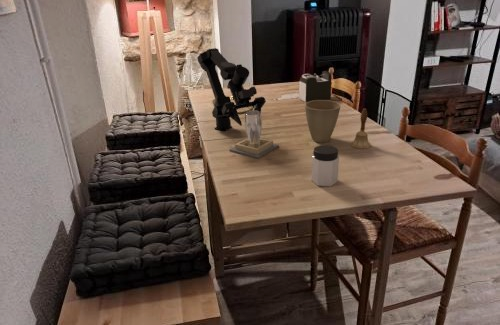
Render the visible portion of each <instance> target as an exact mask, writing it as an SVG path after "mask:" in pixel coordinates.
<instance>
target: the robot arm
mask: <svg viewBox="0 0 500 325" xmlns="http://www.w3.org/2000/svg"><path fill="white" fill-rule="evenodd" d="M197 62H198V64H199V66H200V69H202V70H203V71H205V73H206V75H207V79H208V80H209V84H210V87H211V90H212V93H213V96H214V99H215V103H214V104H213V107H214V108H213V109H212V112H211V114H212V118H214V119H215V125H216V127H214V129H213V130H217V131H221V132H225V131H228V130H231V129H233V126H232V124H231V119H232V120H233V121H234V122H236V123H237V124H238V125H239V126H241V127H242V125H243V123H242V121H241V117H240V116H239V114H238V113H237V112H238V110H239V109H243V108H244V109H245V108H248V107H250V106H252V108H253V110H257V111H260V112H261V113H262V108H263V106H264V105H265V104H266V103H267V101H266V98H265V97H264V96H259V97H258V96H257V97H255V98H254V100H253V101H251V100H252V97H254V96H255V95H257V93H258V91H257V88H256V87H255V86H251V87H249V89H247V88H244V84H245V83H246V82H247V80H248V78H249V76H250V70H249V69H248V68H246V67H245V66H243V65H242V64H240V63H239V64H235V63H233V62H229V61H228V60H227V59H226V58H225V57H224V56H223V55H222V54H221V52H220V50H219V48H217V47H214V48H208V49H206V50H205V51H203V52H201V53H199V55H198V56H197ZM216 67H217V68H218V69H219V71H220V73H219V74H220V77H221V78H222V79H223V81H228V83H227V89H228V90H230V94H231V96H233V97H232V99H230V97H229V95H226V94H225V92H224V89H223V86H222V83H221V80H220V78H219V75H218V72H217V68H216ZM226 96H227V97H226ZM232 100H233V101H232Z"/></svg>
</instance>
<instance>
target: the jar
mask: <svg viewBox="0 0 500 325" xmlns="http://www.w3.org/2000/svg"><path fill="white" fill-rule="evenodd" d="M312 154H313V155H312V156H311V175H310V176H311V178H310V179H311V182H313V183H314V184H315V185H316V186H318V187H332V186H334V185H335V184H337V183H338V179H339V178H338V177H339V163H340V157H339V148H337V147H335V146H333V145H330V144H329V145H328V144H323V145H322V144H321V145H317V146H315V147H313V153H312Z"/></svg>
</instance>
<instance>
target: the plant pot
mask: <svg viewBox="0 0 500 325" xmlns="http://www.w3.org/2000/svg"><path fill="white" fill-rule="evenodd" d="M304 107H305V108H304V109H305V117H306V123H307V127H308V130H309V134H310V136H311V140H312V141H313V142H316V143H320V144H321V143H328V142H329V141H330V140H331V137H332V136H333V133H334V131H335V128H336V125H337V122H338V119H339V115H340V111H341V107H342V106H341V103H340V102H337V101H334V100H330V99H327V100H314V101H309V102H305V104H304Z"/></svg>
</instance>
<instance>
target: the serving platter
mask: <svg viewBox="0 0 500 325" xmlns="http://www.w3.org/2000/svg"><path fill="white" fill-rule="evenodd" d="M225 96H226V97H227V96H229V95H225ZM229 97H230V100H232V99H231V98H232V97H233V96H232V95H231V96H229ZM211 103H212V104H213V105H214V103H215V98H213V99H212V100H211ZM247 108H248V109H247V110H243V111H237V113H238V115H239V114H245V112H247V111H251V110H252V108H253V107H252V106H250V107H247Z"/></svg>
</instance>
